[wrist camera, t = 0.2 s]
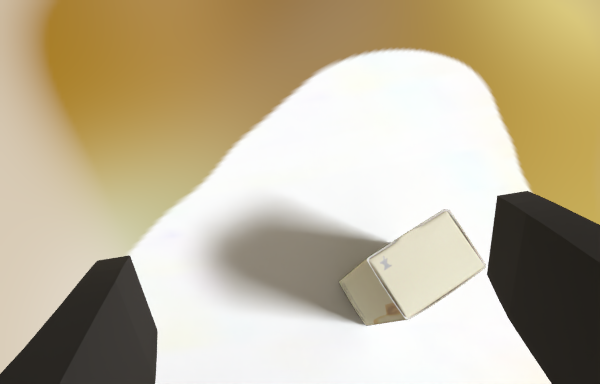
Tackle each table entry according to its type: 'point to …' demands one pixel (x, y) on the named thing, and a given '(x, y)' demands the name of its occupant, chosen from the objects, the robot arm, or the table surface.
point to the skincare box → (413, 271)
